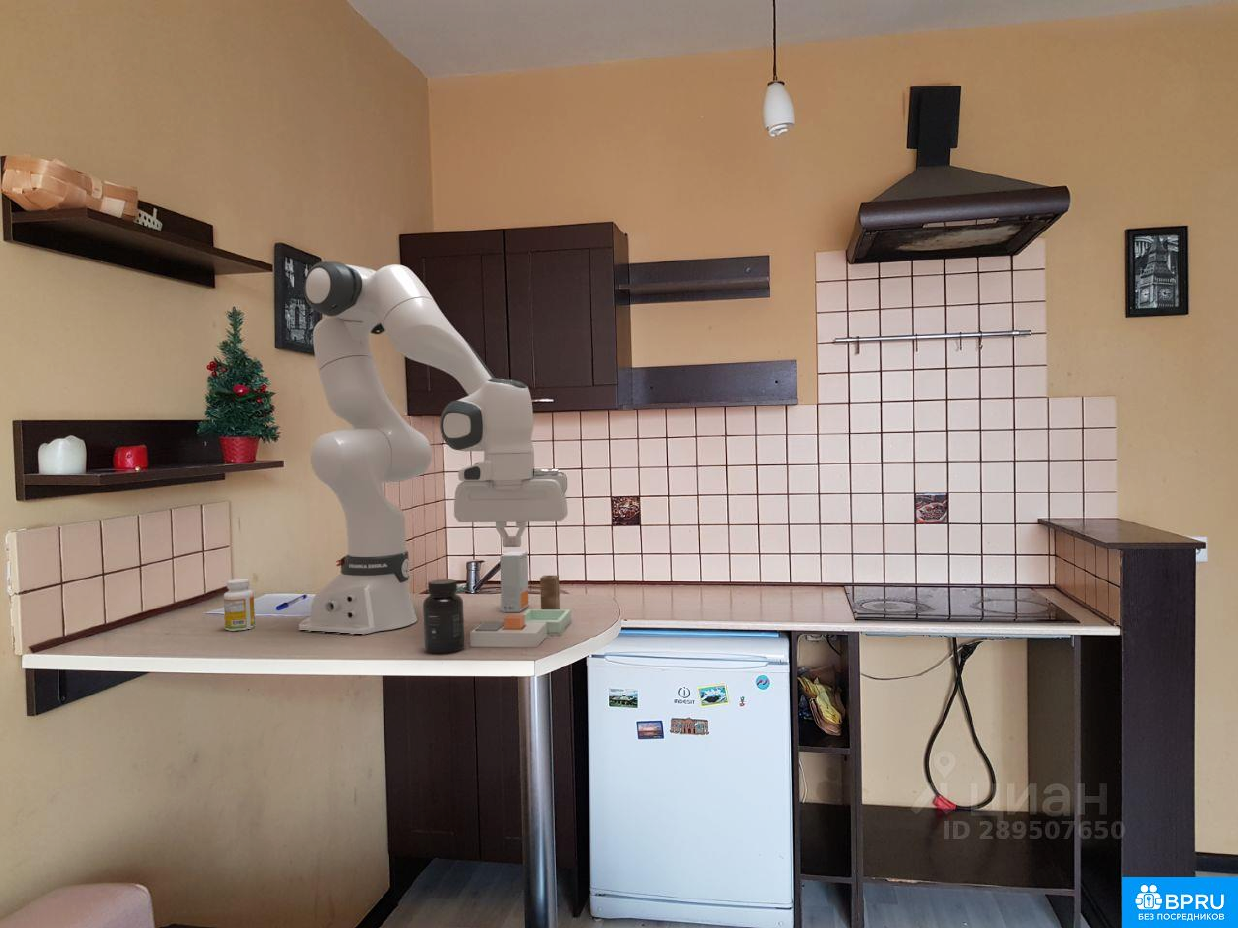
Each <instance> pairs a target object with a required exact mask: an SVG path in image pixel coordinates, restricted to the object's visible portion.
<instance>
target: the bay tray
mask: <svg viewBox="0 0 1238 928" xmlns="http://www.w3.org/2000/svg"><path fill="white" fill-rule="evenodd" d="M521 615H525V622H547V637H548V636H553V637H554V636H555V637H556V636H557V637H558V636H562V633H563V632H564V631H565V630H566V629H567V628H568V627H569V626H570V625H571V623H572V609H570V608H569V609H568V608H567V609H564V608H562V609H561V608H560V609H541V608H540V609H539V608H536V609H535V608H531V609H529V608H527V610H525V611H524V612H523V613H522V614H521ZM566 627H567V628H566Z"/></svg>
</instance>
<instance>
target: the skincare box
mask: <svg viewBox="0 0 1238 928" xmlns="http://www.w3.org/2000/svg"><path fill="white" fill-rule="evenodd" d="M500 592H501V594H500V595H501V596H500V597H501V598H500V601H501V603H500V604H501V612H503V613H507V612H508V613H509V612H510V613H520V612H522V611H523V610H525V609H526V608H528V607H529V568H528V551H513V550H511V551H508V552H504V554H503V553H502V554H501V555H500Z"/></svg>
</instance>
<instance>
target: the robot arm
mask: <svg viewBox="0 0 1238 928" xmlns="http://www.w3.org/2000/svg"><path fill="white" fill-rule="evenodd" d="M429 291H430V290H428V288H427V287H426V285H424V283H423V282H422V281H421V280H420V278H419V277H418V276H417V275H416V274H415V273H414V272H413V270H411V269H410V268H409V267H408V266H405V265H402V264H399V263H398V264H395V263H394V264H388V265H385V266H383V267H380V268H379V269H378V270H374V269H373V268H369V267H366V266H358V265H354V264H347V263H343V262H340V261H335V260H332V261H331V260H324V261H320V262H316V263H315V264H314V265H312V266H311V267H310V268H309V270H308V272H307V273H306V276H305V279H304V284H303V294H304V298H305V301H306V302H307V305H309V307H310V308H311V309H313V310H314V311H316V312H317V313H320V314H322V315H323V316H327V317H324V318H323V319H321V320H319V321H318V322H317V323H316V325H315V326H314V327H313V328H314V329H313V333H312V338H313V339H312V341H313V351H314V357H315V362H316V367H317V371H318V374H319V378H320V380H321V381H320V382H321V384H322V388H323V391H324V395H325V397H326V401H327V405H328V407H329V409H330V410H331V412H333V414H334V415H336V416H338V417H339V418H341V419H343V420H344V421H345V422H347V423H349V425H351V427H352V428H342V429H338V430H334V431H330V432H326V433H324V434H321V435H320V436H318V437H317V438H316V440H315V441H314V443H313V445H312V448H311V452H310V456H309V457H310V465H311V468H312V471H313V473H314V474H315V476H316V477H317V478H318V480H320V481H321V482H322V483H323V484H325V485H326V486H327V487H328V488H330V489H331V491H332V492H333V493H334V494H335V496H336V498H337V499H338V501H339V503H340V505H341V508H342V511H343V513H344V516H345V524H346V536H347V548H348V549H347V550H348V552H347V553H348V554H347V555H344V556H343V557H342V558H340V559H338V560H336V562H335V563H337V564H336V565H335V567H340V574H339V575H337V576H336V577H335V578H333V580H331V581H330V582H329V583H328V584H327V585H325V586H324V587H323V588H321V589H320V590H319V591H318V592H317V593H316V594H315V595H314V597H313V599H312V602H311V608H310V614H309V615H310V616H309V617H307V618H306V619H304V620H302V621H301V622H300V623H299V624H298V631H300V630H311V631H328V632H341V633H350V634H349V635H354V634H362V635H367V634H372V633H376V632H381V631H390V630H395V629H400V628H403V627H408V626H410V625H413V624H415V623H416V622H417V621H418V617H417V615H416V612H415V609H414V605H413V602H412V597H411V592H410V585H409V579H410V569H411V567H410V559H409V551H408V550H407V545H406V544H407V539H406V517H405V514H404V512H403V510H402V509H401V508H400V507H399V506H397V505H396V504H395V503H391V502H390V501H389V499H388V498H387V497H386V495H385V493H384V488H383V484H385V483H386V484H387V483H398V482H405V481H409V480H412V479H415V478H417V477H419V476H422V475H424V474H425V473H426V472H427V471H428V469H429V468H430V465H431V461H432V447H431V444H430V442H429V439H428V438H427V436H425V434H423V433H422V432H420V431H419V430H416V429H415V428H414V427H412V426H411V424H409V423H408V422H407V421H406V420H405V419H404V418H403V417H402V416H401V415H400V413H399V411H397V409H396V408H395V407H394V405H393V404H392V401H390V399H389V397H388V396H387V394H386V391H385V388H384V386H383V382H382V380H381V377H380V375H379V371H378V368H377V365H376V362H375V358H374V356H373V352H372V350H371V347H370V342H369V341H370V340H369V338H370V335H371V334H374V335H381V334H383V333H386V335H387V337H388V338H389V340H390V342H391V343H392V344H393V346H394V347H395V348H396V350H397V351H399V353H401V355H403V356H404V357H406V358H408V359H410V360H411V361H415V362H418V363H421V364H424V365H428V366H430V367H433V368H436V369H437V370H440V371H442V372H444V373H446V374H448V375H450V376H451V377H453V378H454V379H455V380H456V381H458V383H459V384H460V385H461V387H462V388H463V390H464V391H465V392H466V394H467V396H465V397H462V398H460V399H457V400H453V401H451V402H449V404H447V406H445V408H444V409H443V411H442V413H441V415H440V419H439V420H440V423H439V425H440V426H439V428H440V433H441V434H440V435H441V437H442V439H443V441H444V442H445V444H446V445H447V446H448V447H449V448H450V449H452V450H455V451H459V452H483V456H484V457H483V458H484V459H483V461H480V462H476V463H474V464H472V465H469V466H466V467H463V468H460V469H459V471H458V472H457V476H458V480H459V481H460V482H459V483H458V484H457V486H456V489H455V491H454V501H453V516H454V518H455V519H456V521H457V522H459V523H491V522H492V523H493V522H494V523H495V528H496V530H497V532H498V533H499V535H500V537H501V538H502V547H503V548H515V547H516V548H519V547H521V545H522V536H523V535H524V532H525V531H526V528H527V526H528V524H527V522H561V521H564V519H566V517H567V516H568V503H567V497H566V495H567V494H566V492H567V490H568V477H567V475H566V474H565V473H564V472H563V471H561V470H559V468H550V469H546V468H536V469H535V451H534V446H533V443H532V434H533V431H534V413H533V404H532V403H533V402H532V398H531V397H532V396H531V392H530V390H529V387H528V386H527V385H526V384H525V383H524V382H522V381H518V380H516V379H515V380H514V379H505V378H496V377H495V376H494V374H493V373H492V371H490V369H489V367H488V366H487V365H486V363H485V362H484V361H483V360H482V358H481V357H480V355H479V354H478V353H477V351H476V350H475V349H474V347H473V346H471V344H470V343H469V342H468V341H467V340H466V339H465V338H464V337H463V336H462V335H461V334H460V333H459V332H458V331H457V330H456V329H455V327H454V326H453V325H452V324H451V322H450V321H449V320H448V318H447V317H446V316H445V314H444V313H443V312H442V311H441V309H440V307H439V306H438V304H437V303H436V301H435V299H434V297H433V295H432V294H431V293H430V292H429ZM507 522H511V523H514V522H515V528H518V530H517V532H516V533H515V535H509V534H508V532H507V531H506V529H505V528H506V527H507ZM311 631H310V632H311Z"/></svg>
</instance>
